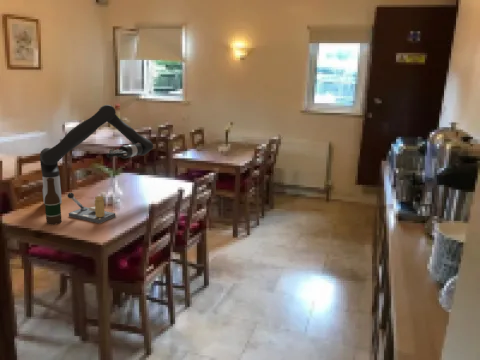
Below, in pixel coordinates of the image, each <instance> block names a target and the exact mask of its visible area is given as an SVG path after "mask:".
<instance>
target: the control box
mask: <svg viewBox="0 0 480 360" xmlns="http://www.w3.org/2000/svg"><path fill="white" fill-rule="evenodd" d="M83 207H84V208H83V209H81V208H78V209H76V210H73V211H70V212H69V213H68V217H70V218H73V219H78V220H84V221H88V222H92V223H96V224H102V223H104V222H106V221H109V220H112V219H113V218H114V219H115V218H116V213H115V212H110V211H105V210H104V213H105V216H103V217H96V212H94V211H89V208H90V207H87V206H83Z"/></svg>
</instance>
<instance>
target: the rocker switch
mask: <svg viewBox="0 0 480 360" xmlns="http://www.w3.org/2000/svg"><path fill="white" fill-rule="evenodd" d="M88 208H89V211H94V212H95V206H91V207H88Z"/></svg>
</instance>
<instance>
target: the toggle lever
mask: <svg viewBox="0 0 480 360" xmlns="http://www.w3.org/2000/svg"><path fill="white" fill-rule="evenodd" d="M67 198H68V199H71V200H72V201H73V202H74V203H75V204H76V205H77V206H78V207H79V209H83V208H84V207H85V206H83V204H81V201H79V200H78V199H77V198H76V197H75V194H74V193H73V192H68V193H67Z"/></svg>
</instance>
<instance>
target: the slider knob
mask: <svg viewBox="0 0 480 360" xmlns="http://www.w3.org/2000/svg"><path fill="white" fill-rule="evenodd" d="M94 207H95V212H96V217H103V216H105V213H104V211H105V200H104V196H102V195H99V196H95V200H94Z"/></svg>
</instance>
